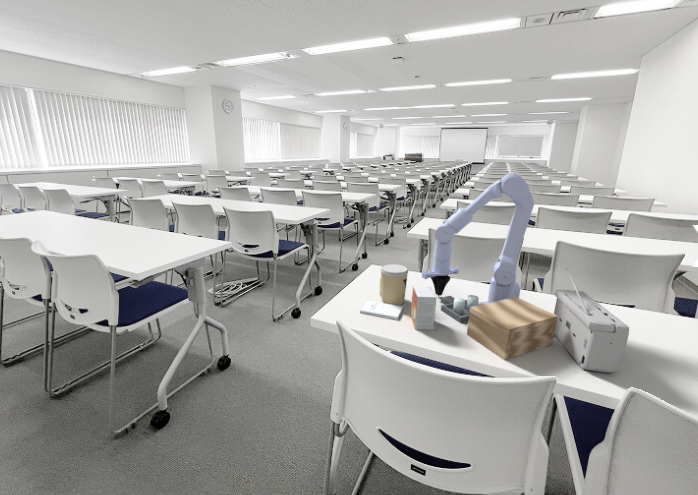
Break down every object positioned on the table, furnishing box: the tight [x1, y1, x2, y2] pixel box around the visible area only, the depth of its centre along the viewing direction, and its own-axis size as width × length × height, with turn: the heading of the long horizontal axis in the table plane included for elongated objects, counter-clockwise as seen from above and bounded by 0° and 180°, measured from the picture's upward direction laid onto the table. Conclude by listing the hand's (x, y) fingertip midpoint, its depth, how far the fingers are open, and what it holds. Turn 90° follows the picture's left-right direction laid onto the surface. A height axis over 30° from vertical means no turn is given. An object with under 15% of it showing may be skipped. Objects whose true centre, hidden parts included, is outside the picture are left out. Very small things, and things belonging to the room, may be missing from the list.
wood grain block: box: [466, 297, 558, 361], centre depth 90 cm, size 18×13×9 cm
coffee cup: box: [380, 263, 409, 306], centre depth 113 cm, size 9×9×12 cm
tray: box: [440, 294, 480, 324], centre depth 108 cm, size 12×14×5 cm
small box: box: [410, 285, 437, 331], centre depth 98 cm, size 8×6×10 cm
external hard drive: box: [359, 300, 404, 321], centre depth 107 cm, size 2×8×12 cm
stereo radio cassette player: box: [553, 267, 630, 374], centre depth 84 cm, size 21×8×20 cm, turn 170°
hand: (438, 294), depth 118 cm, fingers closed
